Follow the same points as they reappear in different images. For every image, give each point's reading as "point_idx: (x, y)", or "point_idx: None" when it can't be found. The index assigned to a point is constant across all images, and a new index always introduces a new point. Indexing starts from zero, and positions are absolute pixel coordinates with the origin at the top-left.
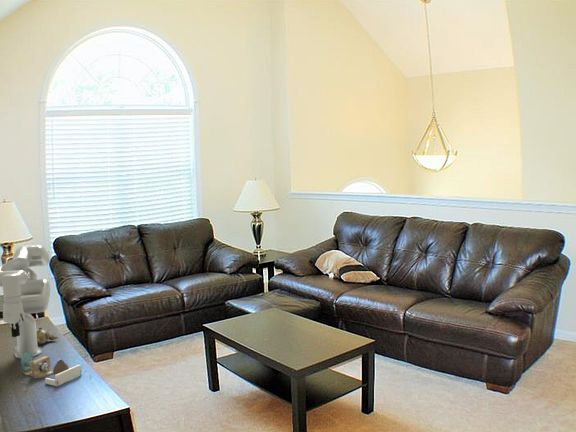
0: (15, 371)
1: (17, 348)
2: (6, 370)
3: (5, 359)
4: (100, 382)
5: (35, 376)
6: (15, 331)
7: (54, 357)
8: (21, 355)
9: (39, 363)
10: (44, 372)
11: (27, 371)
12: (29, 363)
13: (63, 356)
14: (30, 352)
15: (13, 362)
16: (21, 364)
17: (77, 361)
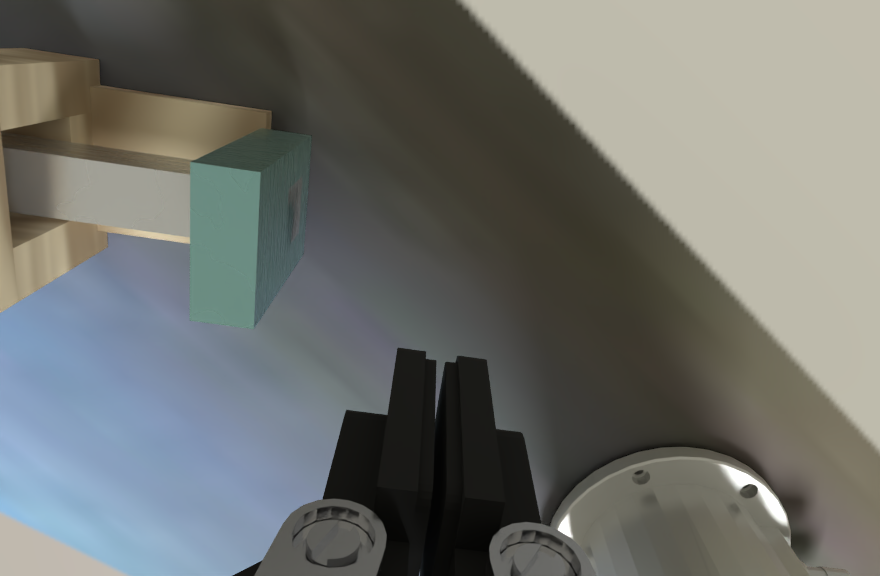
0: (440, 152)
1: (795, 564)
2: (571, 151)
3: (819, 401)
4: None
5: (30, 51)
6: (360, 471)
7: None
8: (238, 167)
9: (17, 188)
10: None
11: None
12: (173, 169)
13: None
14: (202, 301)
15: (667, 355)
16: (295, 146)
17: (43, 507)
